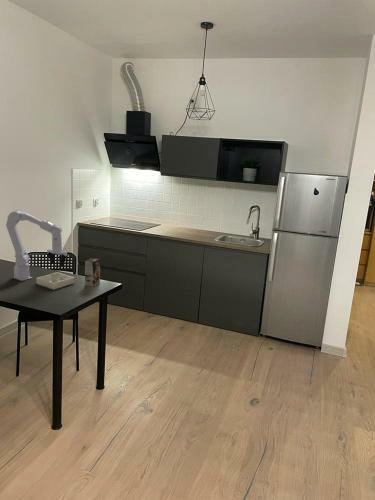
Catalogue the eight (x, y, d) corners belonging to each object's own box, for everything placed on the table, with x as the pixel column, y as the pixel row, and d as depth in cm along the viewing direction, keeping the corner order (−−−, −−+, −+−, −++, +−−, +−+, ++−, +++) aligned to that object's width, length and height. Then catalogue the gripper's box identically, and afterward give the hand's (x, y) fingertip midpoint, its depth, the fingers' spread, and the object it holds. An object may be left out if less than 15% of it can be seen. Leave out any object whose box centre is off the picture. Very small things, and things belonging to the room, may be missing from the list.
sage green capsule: (49, 282, 229) (49, 273, 228) (56, 280, 233) (56, 272, 232) (54, 284, 226) (54, 275, 225) (61, 282, 230) (61, 273, 229)
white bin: (36, 283, 228) (36, 277, 227) (57, 278, 241) (57, 272, 240) (53, 289, 220) (53, 283, 219) (74, 283, 233) (74, 277, 232)
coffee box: (94, 286, 229) (94, 262, 225) (84, 285, 230) (84, 261, 226) (100, 282, 238) (100, 258, 234) (91, 281, 239) (91, 257, 235)
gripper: (43, 244, 233) (44, 264, 236) (61, 247, 228) (62, 268, 231) (51, 242, 239) (51, 262, 243) (69, 245, 234) (69, 265, 238)
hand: (57, 264), depth 237 cm, fingers open, 7 cm apart
